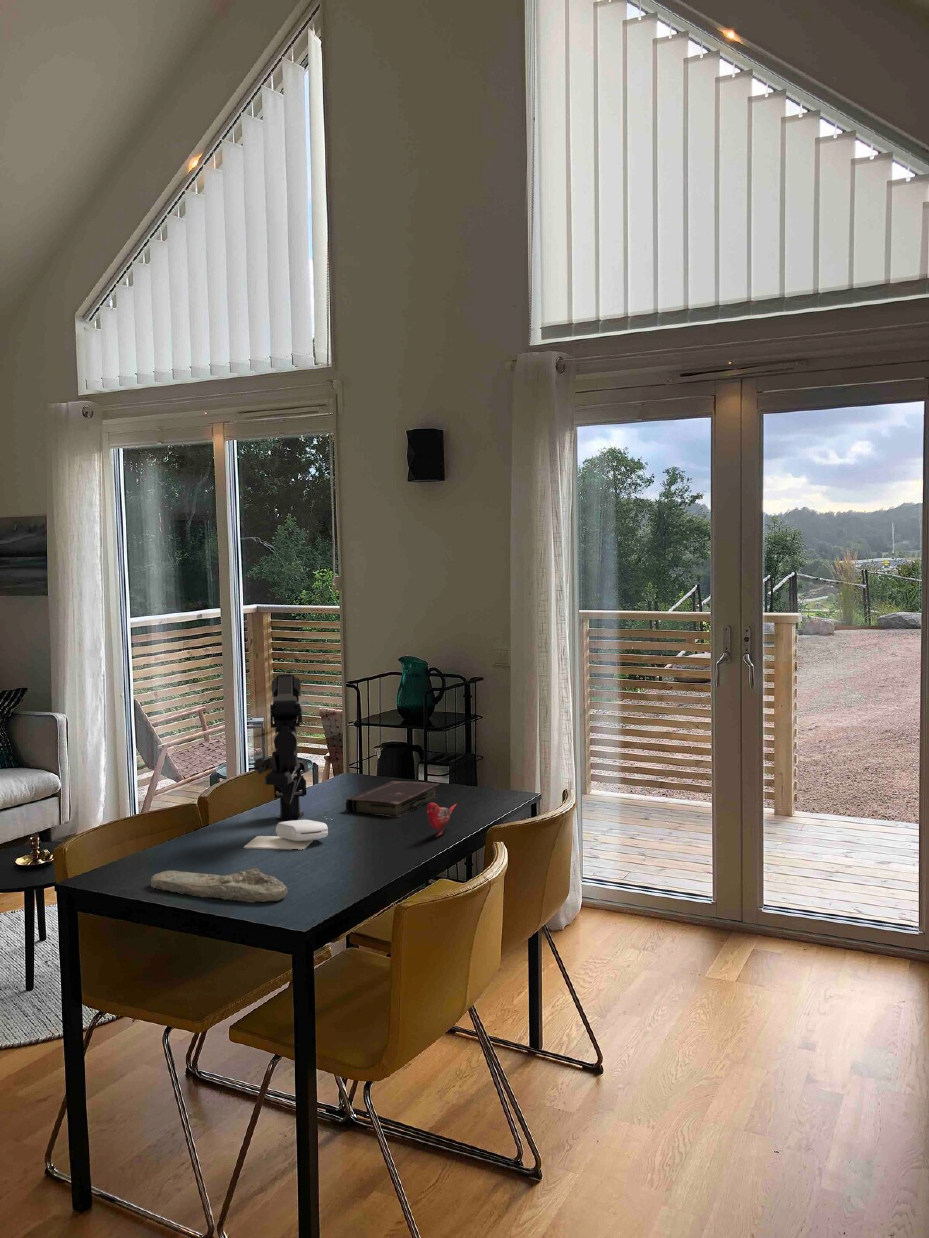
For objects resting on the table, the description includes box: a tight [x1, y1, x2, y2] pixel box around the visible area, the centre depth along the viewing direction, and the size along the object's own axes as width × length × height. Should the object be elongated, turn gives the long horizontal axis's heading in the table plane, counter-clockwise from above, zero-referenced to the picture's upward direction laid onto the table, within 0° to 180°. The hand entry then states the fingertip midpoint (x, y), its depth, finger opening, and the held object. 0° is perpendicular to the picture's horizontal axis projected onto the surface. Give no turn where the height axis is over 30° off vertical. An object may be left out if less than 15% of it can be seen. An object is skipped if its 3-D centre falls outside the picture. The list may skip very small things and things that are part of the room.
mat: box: [243, 835, 313, 851], centre depth 263 cm, size 10×16×1 cm, turn 81°
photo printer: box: [275, 819, 329, 841], centre depth 264 cm, size 10×4×12 cm
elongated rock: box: [150, 868, 289, 904], centre depth 225 cm, size 35×5×10 cm
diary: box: [345, 780, 440, 818], centre depth 301 cm, size 19×25×5 cm
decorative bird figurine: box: [426, 801, 458, 838], centre depth 268 cm, size 3×18×10 cm, turn 155°
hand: (288, 804), depth 269 cm, fingers closed
